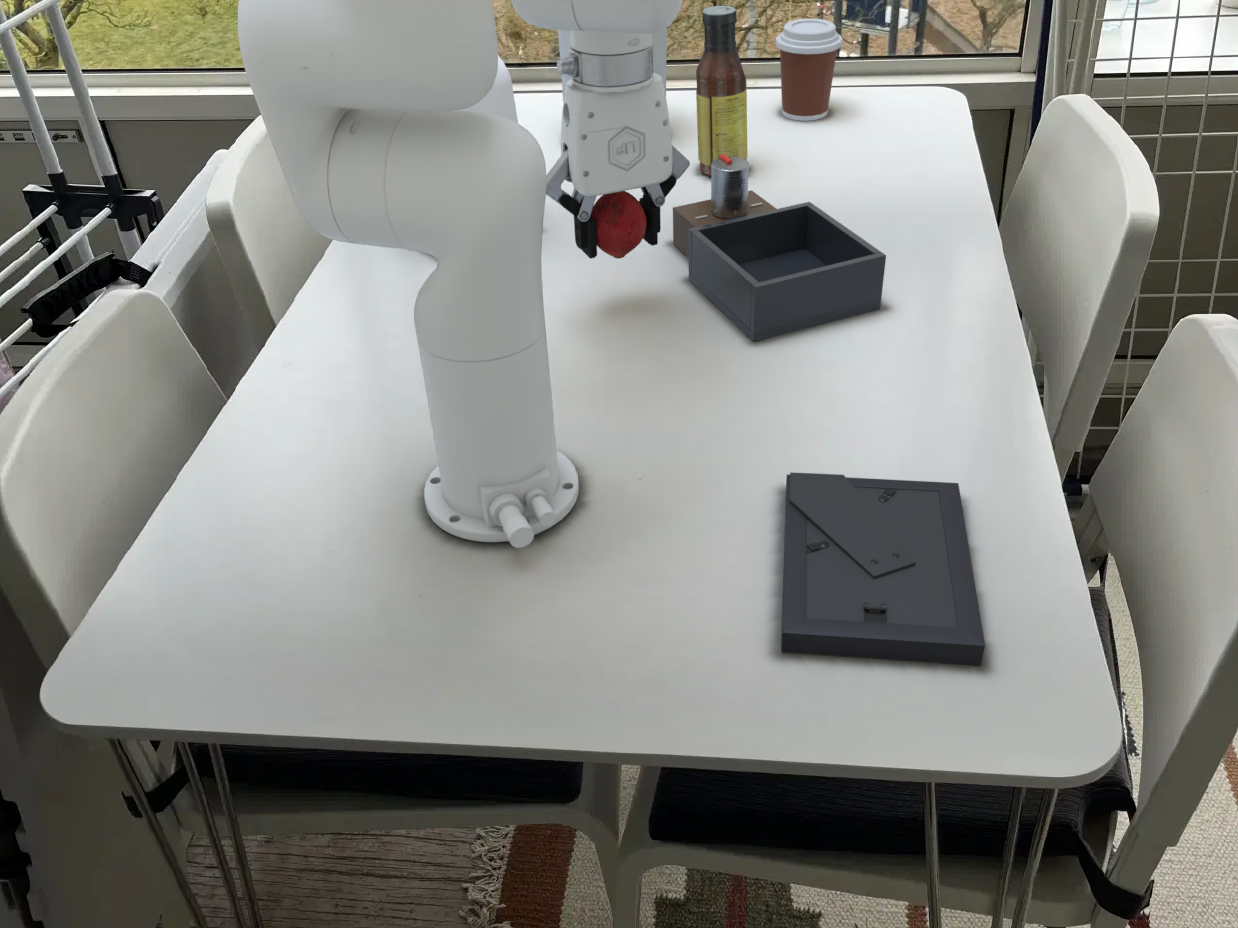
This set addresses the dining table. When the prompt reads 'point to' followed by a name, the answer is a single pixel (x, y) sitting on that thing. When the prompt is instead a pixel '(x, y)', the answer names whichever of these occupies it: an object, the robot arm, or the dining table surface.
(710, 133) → the sauce bottle
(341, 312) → the dining table surface
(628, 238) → the red round fruit
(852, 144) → the dining table surface
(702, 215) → the block
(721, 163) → the metal rotary knob
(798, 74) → the coffee cup
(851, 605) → the picture frame
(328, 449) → the dining table surface
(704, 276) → the dark grey open box
